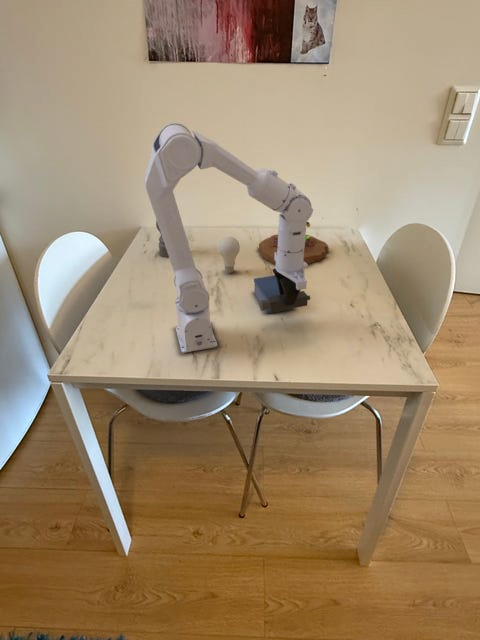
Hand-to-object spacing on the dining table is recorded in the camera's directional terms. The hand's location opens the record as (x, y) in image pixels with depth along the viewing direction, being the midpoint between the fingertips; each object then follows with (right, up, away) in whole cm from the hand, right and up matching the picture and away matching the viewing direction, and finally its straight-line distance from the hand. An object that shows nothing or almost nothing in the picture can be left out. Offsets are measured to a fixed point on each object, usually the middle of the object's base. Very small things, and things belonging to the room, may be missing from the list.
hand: (287, 300), depth 95 cm
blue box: (-3, +1, +11) cm, 11 cm away
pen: (0, -1, +1) cm, 1 cm away
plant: (+5, +17, +34) cm, 38 cm away
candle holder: (-33, +17, +35) cm, 51 cm away
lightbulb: (-14, +9, +24) cm, 29 cm away
